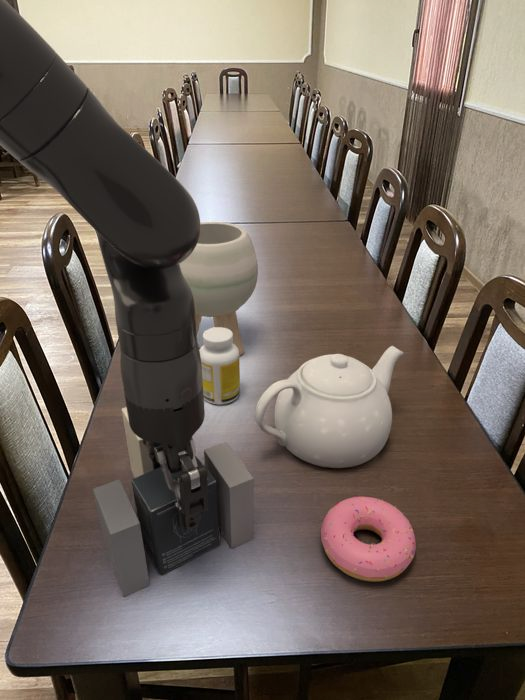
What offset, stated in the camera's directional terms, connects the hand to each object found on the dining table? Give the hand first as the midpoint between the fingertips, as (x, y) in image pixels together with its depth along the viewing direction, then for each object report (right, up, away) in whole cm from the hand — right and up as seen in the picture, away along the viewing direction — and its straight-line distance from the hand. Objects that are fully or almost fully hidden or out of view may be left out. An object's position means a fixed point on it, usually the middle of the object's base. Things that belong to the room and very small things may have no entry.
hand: (176, 503), depth 60 cm
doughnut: (+22, -6, +3) cm, 23 cm away
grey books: (0, -6, +4) cm, 7 cm away
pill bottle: (+3, +10, +29) cm, 31 cm away
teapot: (+20, +4, +21) cm, 29 cm away
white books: (-4, 0, +12) cm, 13 cm away
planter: (+1, +18, +43) cm, 47 cm away
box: (0, -6, +4) cm, 7 cm away
